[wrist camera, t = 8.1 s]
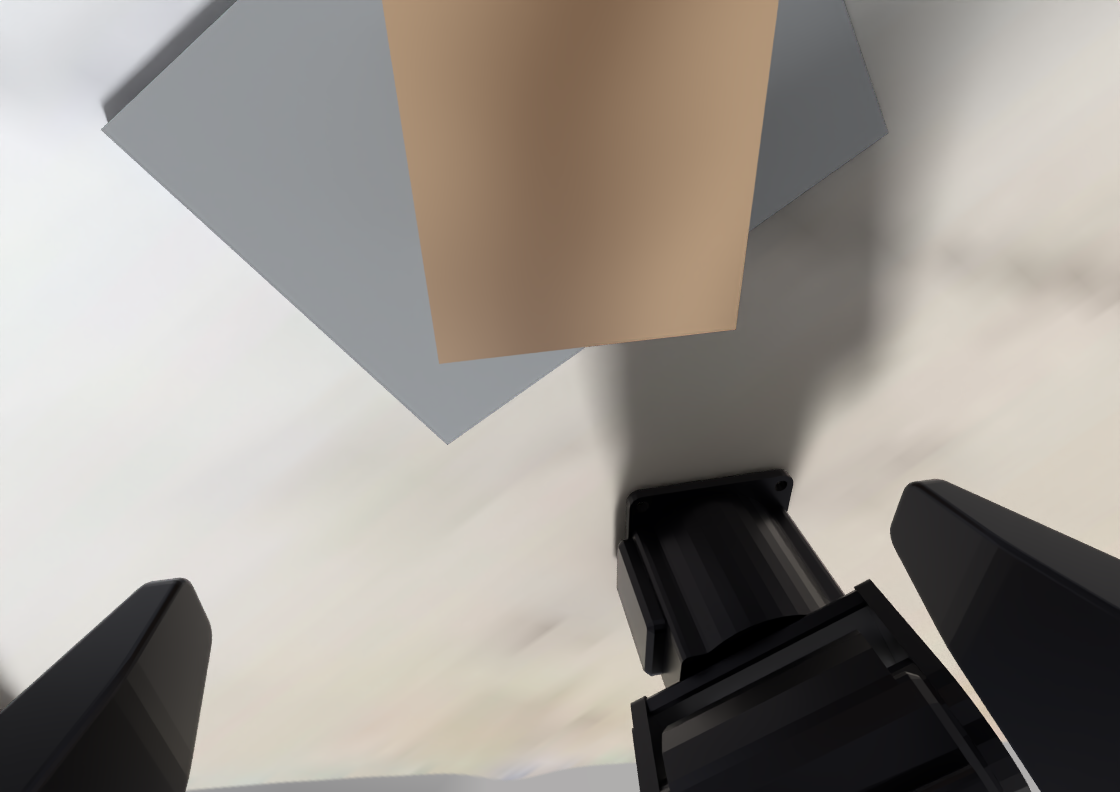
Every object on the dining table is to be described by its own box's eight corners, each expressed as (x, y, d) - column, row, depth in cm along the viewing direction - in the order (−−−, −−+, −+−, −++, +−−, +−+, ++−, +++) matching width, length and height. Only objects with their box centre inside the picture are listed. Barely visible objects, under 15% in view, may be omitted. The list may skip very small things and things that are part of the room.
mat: (688, -424, 12) (695, -435, 11) (879, 130, 18) (888, 132, 18) (108, 126, 15) (101, 129, 14) (446, 437, 21) (447, 445, 21)
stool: (657, -17, 15) (781, -23, 10) (647, 234, 18) (736, 329, 13) (396, -7, 14) (380, -9, 9) (435, 253, 17) (439, 364, 12)
